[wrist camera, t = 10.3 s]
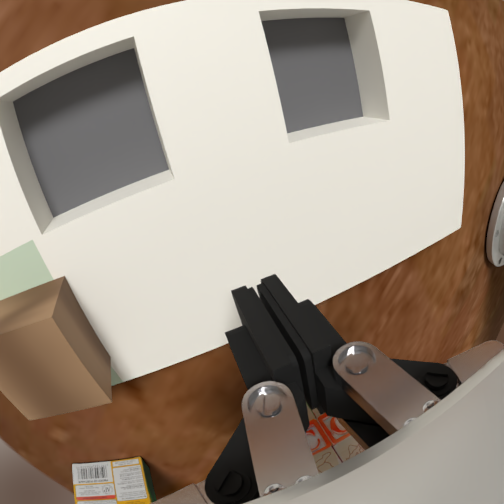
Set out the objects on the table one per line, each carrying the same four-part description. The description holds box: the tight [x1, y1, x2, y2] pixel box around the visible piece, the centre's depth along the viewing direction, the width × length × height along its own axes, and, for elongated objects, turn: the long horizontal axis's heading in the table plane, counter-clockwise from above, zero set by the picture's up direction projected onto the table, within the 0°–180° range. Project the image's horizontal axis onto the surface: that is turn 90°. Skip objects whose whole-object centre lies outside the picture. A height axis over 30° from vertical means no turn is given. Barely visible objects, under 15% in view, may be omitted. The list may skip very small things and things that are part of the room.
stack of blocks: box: [306, 402, 365, 474], centre depth 25 cm, size 21×6×12 cm, turn 16°
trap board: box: [0, 0, 465, 386], centre depth 14 cm, size 31×16×2 cm, turn 103°
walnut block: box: [0, 276, 112, 420], centre depth 11 cm, size 5×5×3 cm
